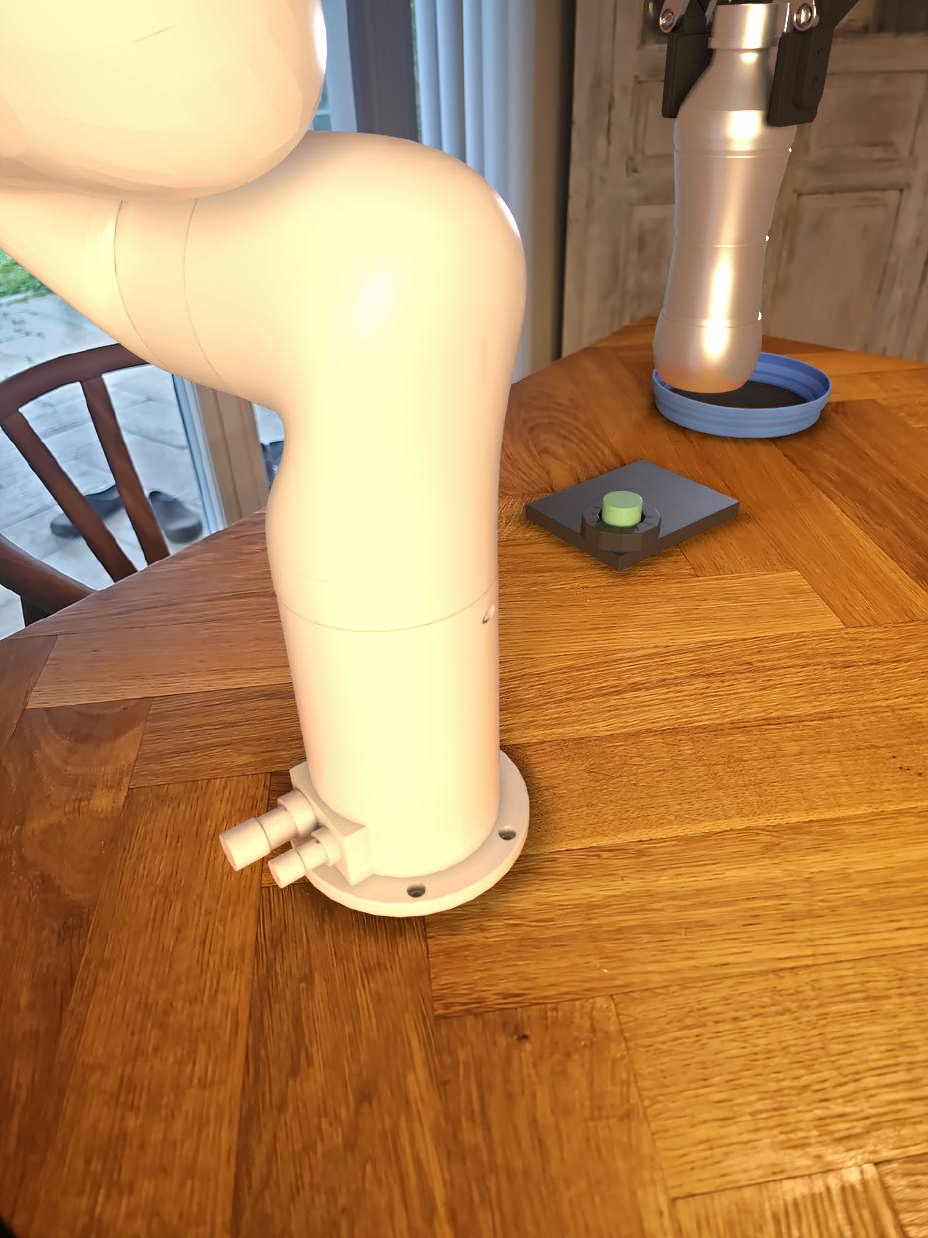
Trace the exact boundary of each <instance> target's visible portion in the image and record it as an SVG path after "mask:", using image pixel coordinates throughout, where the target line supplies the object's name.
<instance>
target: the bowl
mask: <svg viewBox="0 0 928 1238" xmlns="http://www.w3.org/2000/svg"><path fill="white" fill-rule="evenodd" d="M651 386H652V392H653V394H654V396H655V398H654V401H655V402H654V403H655V406H656V408H657V410H658V411H659V413H660V414H661V415H662V416H663V417H665V418H666V419H668V420H669V421H671V422H672V423H674V424H676V425H679V426H681V427H683V428H685V429H689V430H692V431H696V432H700V433H703V434H708V435H714V436H719V437H727V438H738V439H768V438H778V437H785V436H788V435H792V434H796V433H799V432H802V431H804V430H807V429H809V428H810V427H811V426H813V425H814V424H815V423H817V421H818V420H819V418H820V415H821V412H822V410H823V409H824V408H825V406H826V405H827V404H828V401H829V399H830V398H831V394H832V388H833V384H832V380H831V378H830V377H829V375H828V374H827V373H825V372H824V371H823V370H821V369H820V368H818V367H816V366H815V365H812V364H810V363H808V362H805V361H802V360H799V359H797V358H793V357H790V356H785V355H781V354H777V353H771V352H765V351H761V353H760V356H759V359H758V361H757V364H756V367H755V370H754V373H753V375H752V376H751V377H750V378H749V379H748V380H747V381H746V382H745V384H744V385H743V386H742V387H740V388H738V389H735V390H732V391H727V392H720V393H699V392H691V391H686V390H681V389H678V388H675V387H672V386H670V385H668V384H666V383H665V382H663V381H662V380H661V378H660V376H659V374H658V372H657V371H656V369H655V368H654V369H653V370H652V375H651Z"/></svg>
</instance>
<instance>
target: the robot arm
mask: <svg viewBox="0 0 928 1238" xmlns="http://www.w3.org/2000/svg"><path fill="white" fill-rule="evenodd" d="M652 1H653V4H654V5H655V8H656V10H657V11H658V13H659V17H658V26H659V28H660V30H661V32H663V33H665V34H667V41H666V52H665V53H666V54H665V65H664V78H663V90H662V98H661V99H662V101H661V116H662V118H664V119H671V120H672V119H676V117H677V114H678V111H679V108H680V105H681V104H682V102H683V101H684V99H685V97H686V96H687V94H688V93H689V91H690V89H691V88H692V86H693V85H694V84H695V82H696V81H697V80H698V78H699V77H700V76H701V74H702V73H703V72H704V70H705V69H706V68H707V66H708V65H709V64H710V61H711V58H712V54H713V49H712V48H708V39H709V38H710V37H711V31H712V29H708V30H707V26H708V25H709V22H710V20H711V18H712V15H713V14H714V11H715V6H717V3H718V0H652ZM788 1H789V2H788V3H789V8H790V12H791V18H792V23H793V27H792V30H789V31H788V30H785V31H784V32H782V36H781V37H780V39H779V44H778V50H777V57H776V64H775V71H774V77H773V84H772V91H771V98H770V104H769V111H768V118H767V120H768V123H769V124H770V126H772V127H786V126H792V125H797V126H799V125H804V124H811V123H813V122H814V121H815V120H816V117H817V115H818V110H819V105H820V102H821V100H822V98H823V94H824V90H825V84H826V80H827V74H828V67H829V63H830V57H831V51H832V46H833V42H834V41H833V40H834V35H835V30H837V29H840V28H842V27H843V26H844V25H845V24H846V23H847V22H848V20H849V17H850V13H851V11H852V9H853V8H854V7H855V6H856V5H857V3H858V2H859V1H860V0H788ZM327 41H328V40H327V27H326V21H325V16H324V9H323V4H322V0H0V250H1V251H2V252H3V253H5V254H6V255H7V256H8V257H9V258H11V259H12V260H14V262H16V263H17V264H18V265H19V266H21V267H22V268H23V269H24V270H25V271H26V272H29V274H30V275H32V276H33V277H34V278H35V279H37V280H38V281H39V282H40V283H42V285H44V286H46V287H47V288H48V289H49V290H50V291H52V292H53V293H54V294H55V295H56V296H58V297H59V298H60V299H61V300H63V301H64V302H65V303H67V304H68V305H69V306H70V307H71V308H73V309H74V310H75V311H76V312H78V313H79V314H80V315H81V316H83V317H84V318H85V319H86V320H88V321H89V322H90V323H91V324H92V325H94V326H96V327H97V328H98V329H99V330H101V331H102V332H103V333H104V334H106V335H107V336H109V338H111V339H112V340H114V341H116V342H117V343H118V344H119V345H121V346H122V347H124V348H125V349H127V350H128V351H129V352H131V353H132V354H133V355H135V356H137V357H139V358H140V359H141V360H143V361H144V362H147V364H150V365H152V366H154V367H156V368H158V369H159V370H162V371H163V372H166V373H169V374H171V375H173V376H175V377H179V378H181V379H184V380H186V381H189V382H192V383H194V384H197V385H201V386H204V387H207V388H209V389H213V390H215V391H219V392H222V393H225V394H228V395H231V396H235V397H238V398H240V399H242V400H243V399H244V400H246V401H248V402H251V403H252V404H255V405H257V406H260V407H263V408H266V409H267V410H271V411H273V412H275V413H276V414H277V416H278V418H279V420H280V421H281V423H282V427H283V434H284V436H283V437H284V438H283V447H282V448H283V449H282V452H281V458H280V462H279V464H278V467H277V470H276V473H275V476H274V478H273V481H272V484H271V486H270V490H269V493H268V496H267V504H266V508H265V518H264V533H265V534H264V535H265V547H266V552H267V561H268V565H269V571H270V576H271V581H272V586H273V590H274V593H275V599H276V602H277V609H278V614H279V618H280V623H281V629H282V634H283V635H282V636H283V639H284V640H283V641H284V645H285V646H284V647H285V650H286V656H287V661H288V666H289V673H290V677H291V683H292V688H293V693H294V698H295V704H296V709H297V714H298V715H297V716H298V721H299V725H300V731H301V735H302V742H303V747H304V753H305V757H306V759H305V760H303V762H300V763H298V764H296V765H294V766H292V767H291V768H289V771H288V772H289V775H290V781H291V785H292V790H290V791H289V792H287V793H285V794H282V795H280V796H279V797H278V798H277V799H276V805H277V807H275V808H273V809H271V810H269V811H267V812H265V813H263V814H261V815H259V816H258V817H254V816H252V817H250V818H248V819H246V820H245V821H243V822H241V823H239V824H237V825H235V826H233V827H230V828H229V829H227V830H224V831H223V832H221V833H219V835H218V839H219V842H220V845H221V848H222V850H223V852H224V854H225V857H226V858H227V860H228V862H229V864H230V865H231V868H232V869H234V871H235V872H238V871H240V870H241V869H243V868H246V867H247V866H249V865H251V864H253V863H255V862H256V861H258V860H260V859H262V858H264V857H265V856H267V855H270V854H271V853H272V851H273V850H275V849H277V848H279V847H280V846H283V845H284V844H285V843H288V842H290V845H291V848H290V849H289V850H287V851H284V852H283V853H281V854H279V855H278V856H276V857H274V858H272V859H270V860H269V861H267V866H268V868H269V871H270V874H271V876H272V878H273V880H274V882H276V885H277V886H278V887H279V888H280V889H283V888H286V887H287V886H288V885H290V884H292V883H294V882H296V881H298V880H300V879H301V878H303V877H304V876H305V877H306V879H308V880H309V883H311V884H312V885H313V886H314V888H316V889H317V890H318V891H320V892H321V893H323V894H324V895H325V896H326V897H328V898H329V899H330V900H332V901H334V902H337V903H339V904H341V905H343V906H345V907H347V908H349V909H351V910H355V911H358V912H362V913H366V914H369V915H372V916H373V915H374V916H384V917H395V918H407V917H418V916H419V917H420V916H427V915H432V914H436V913H439V912H444V911H448V910H451V909H453V908H456V907H458V906H461V905H464V904H465V903H467V902H470V901H473V900H474V899H475V898H477V897H479V896H480V895H481V894H483V893H485V892H487V891H488V890H489V889H491V888H492V887H494V886H495V885H496V883H498V882H499V881H500V880H501V879H502V878H503V877H504V876H505V875H506V874H507V873H508V872H509V871H510V869H512V867H513V866H514V864H515V862H516V861H517V859H518V858H519V856H520V855H521V854H522V850H523V849H524V845H525V843H526V841H527V837H528V833H529V827H530V826H529V825H530V797H529V793H528V789H527V784H526V782H525V779H524V777H523V776H522V774H521V771H520V770H519V767H518V766H517V765H516V764H515V762H514V761H512V759H511V758H510V757H509V756H508V754H506V753H505V752H504V751H503V750H502V749H500V747H501V746H500V744H501V743H500V742H501V741H500V611H499V610H500V606H499V605H500V600H499V599H500V597H499V595H500V594H499V593H500V592H499V591H500V590H499V589H500V588H499V585H500V583H499V582H500V581H499V580H500V579H499V578H500V577H499V541H498V540H499V487H500V486H499V485H500V472H501V455H502V447H503V440H504V439H503V438H504V429H505V421H506V417H507V416H506V415H507V410H508V404H509V399H510V394H511V393H510V392H511V388H512V383H513V379H514V378H513V377H514V373H515V369H516V364H517V358H518V353H519V348H520V345H521V344H520V343H521V339H522V334H523V327H524V321H525V316H526V315H525V314H526V305H527V304H526V303H527V291H528V288H527V287H528V273H527V272H528V271H527V260H526V253H525V248H524V245H523V244H524V243H523V240H522V237H521V234H520V231H519V229H518V225H517V223H516V220H515V218H514V215H513V214H512V213H511V210H510V208H509V206H508V205H507V204H506V203H505V201H504V199H503V198H502V197H501V195H500V194H499V192H498V191H497V190H496V189H495V188H494V186H493V185H492V184H491V183H490V182H489V181H488V180H487V179H486V178H485V177H484V176H482V175H481V174H480V173H479V172H478V171H476V170H475V169H474V168H472V167H471V166H469V165H468V164H467V163H466V162H463V160H461V159H459V158H457V157H456V156H453V155H452V154H450V153H448V152H446V151H443V150H441V149H438V148H435V147H433V146H429V145H426V144H424V143H421V142H418V141H414V140H411V139H407V138H402V137H395V136H390V135H385V134H377V133H367V132H354V131H353V132H352V131H337V130H336V131H335V130H318V129H309V128H310V126H311V125H312V122H313V121H314V120H315V118H316V114H317V112H318V108H319V105H320V102H321V100H322V94H323V90H324V85H325V78H326V70H327V69H326V68H327V55H328V54H327V53H328V43H327Z"/></svg>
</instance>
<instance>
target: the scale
mask: <svg viewBox="0 0 928 1238" xmlns="http://www.w3.org/2000/svg"><path fill="white" fill-rule="evenodd" d="M615 491H628V492H632V493H635V494H637V495H639V496H640V497H641V498H642V500H643V503H642V512H641V521H640V523H639V524H637V525H635V526H630V527H617V526H612V525H608V524H606V523H604V522H603V521H602V504H603V497H604V496H605V495H606V494H608V493H610V492H615ZM740 504H741V501H740V500H737V499H735V498H733V497H731V496H728V495H725V494H724V493H721V492H719V491H717V490H715V489H712V488H711V487H708V486H705V485H704V484H701V483H699V482H696V481H694V480H691V479H689V478H687V477H685V476H682V475H680V474H678V473H676V472H673V471H670V470H669V469H667V468H664V467H662V466H659V465H657V464H654V463H652V462H651V461H648V460H646V459H643V458H642V459H639V460H637V461H634V462H631V463H629V464H626V465H624V466H622V467H619V468H616V469H614V470H611V471H609V472H606V473H603V474H601V475H598V476H596V477H593V478H591V479H588V480H585V481H582V482H581V483H577V484H575V485H573V486H570V487H568V488H564V489H562V490H560V491H559V490H558V491H557V492H554V493H552V494H549V495H547V496H544V497H541V498H539V499H536V500H533V501H531V502H529V503H526V504H525V520H528V521H529V522H531V523H533V524H535V525H536V526H538V527H540V528H542V529H543V530H544V531H547V532H548V533H550V534H552V535H554V536H555V537H557V538H559V539H561V540H563V541H564V542H566V543H567V544H570V545H571V546H573V547H575V548H577V549H578V550H580V551H582V552H583V553H585V554H587V555H588V556H590V557H592V558H594V559H595V560H598V561H600V562H601V563H603V564H604V565H606V566H608V567H610V568H611V569H613V570H615V571H617V572H621V571H623V570H625V569H627V568H629V567H632V566H635V565H636V564H638V563H640V562H642V561H644V560H647V559H649V558H650V557H653V556H655V555H657V554H659V553H662V552H663V551H665V550H667V549H670V548H672V547H674V546H676V545H678V544H680V543H683V542H685V541H687V540H689V539H691V538H694V537H695V536H698V535H700V534H702V533H704V532H706V531H708V530H710V529H712V528H714V527H717V526H719V525H721V524H723V523H725V522H727V521H730V520H732V519H734V518H736V517H738V516H739V510H740Z"/></svg>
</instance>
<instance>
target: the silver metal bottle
mask: <svg viewBox="0 0 928 1238" xmlns="http://www.w3.org/2000/svg"><path fill="white" fill-rule="evenodd" d="M789 12H790V2H775V3H774V2H773V3H772V2H771V3H769V2H768V3H742V4H722V5H721V4H720V5H715V8H714V10H713V14H712V15H713V17H712V24H711V30H712V31H711V37H710V38H709V39H708V48H712V49H713V54H712V58H711V61H710V64H709V65H708V66H707V68H706V69H705V70H704V72H703V73H702V74H701V76H700V77H699V78H698V80H697V81H696V82H695V84H694V85H693V86H692V88H691V89H690V91H689V93H688V94H687V96H686V97H685V99H684V101H683V102H682V104H681V105H680V108H679V111H678V114H677V117H676V118H675V119H674V123H673V140H672V142H673V145H674V148H673V173H674V174H673V176H674V210H673V211H674V212H673V228H674V233H673V234H672V249H671V250H672V251H671V256H670V262H669V268H668V274H667V280H666V285H665V290H664V297H663V302H662V305H663V306H662V308H661V309H660V312H659V316H658V318H657V321H656V326H655V330H654V334H653V339H652V354H653V366H654V369H656V371H657V372H658V374H659V376H660V378H661V380H662V381H663V382H665V383H666V384H668V385H670V386H672V387H675V388H678V389H681V390H686V391H691V392H699V393H720V392H727V391H732V390H735V389H738V388H740V387H742V386H743V385H744V384H745V382H746V381H747V380H748V379H749V378H750V377H751V376H752V375H753V373H754V370H755V367H756V364H757V361H758V359H759V356H760V353H761V352H762V340H763V320H762V314H761V309H762V297H763V284H764V271H765V259H766V251H767V247H768V242H769V236H768V235H769V231H770V230H771V228H772V222H773V218H774V213H775V209H776V203H777V200H778V196H779V192H780V189H781V185H782V182H783V178H784V176H785V172H786V168H787V165H788V162H789V158H790V155H791V153H792V149H791V147H792V145H793V144H794V141H795V138H796V132H797V128H798V125H792V126H786V127H772V126H770V124H769V123H768V120H767V118H768V111H769V104H770V98H771V91H772V84H773V77H774V71H775V64H776V57H777V50H778V44H779V39H780V37H781V36H782V32H784V31H787V30H786V29H787V22H788V18H789Z"/></svg>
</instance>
